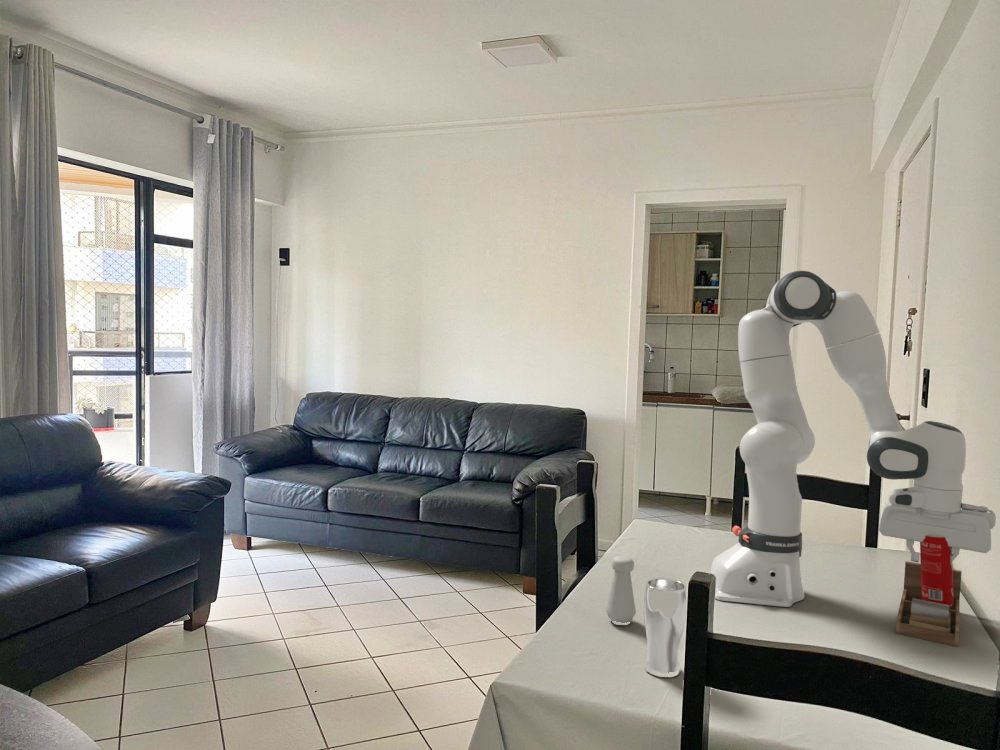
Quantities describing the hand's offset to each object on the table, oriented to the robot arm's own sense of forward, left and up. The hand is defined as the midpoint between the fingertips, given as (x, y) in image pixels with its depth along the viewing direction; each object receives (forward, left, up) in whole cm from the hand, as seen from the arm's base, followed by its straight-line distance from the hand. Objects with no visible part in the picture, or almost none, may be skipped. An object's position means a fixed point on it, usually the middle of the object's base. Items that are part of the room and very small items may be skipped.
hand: (930, 564), depth 153 cm
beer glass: (-63, -30, -11) cm, 70 cm away
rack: (-2, -4, -11) cm, 12 cm away
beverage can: (+1, -1, -8) cm, 9 cm away
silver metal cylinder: (-4, -8, -11) cm, 14 cm away
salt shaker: (-67, -10, -11) cm, 68 cm away
